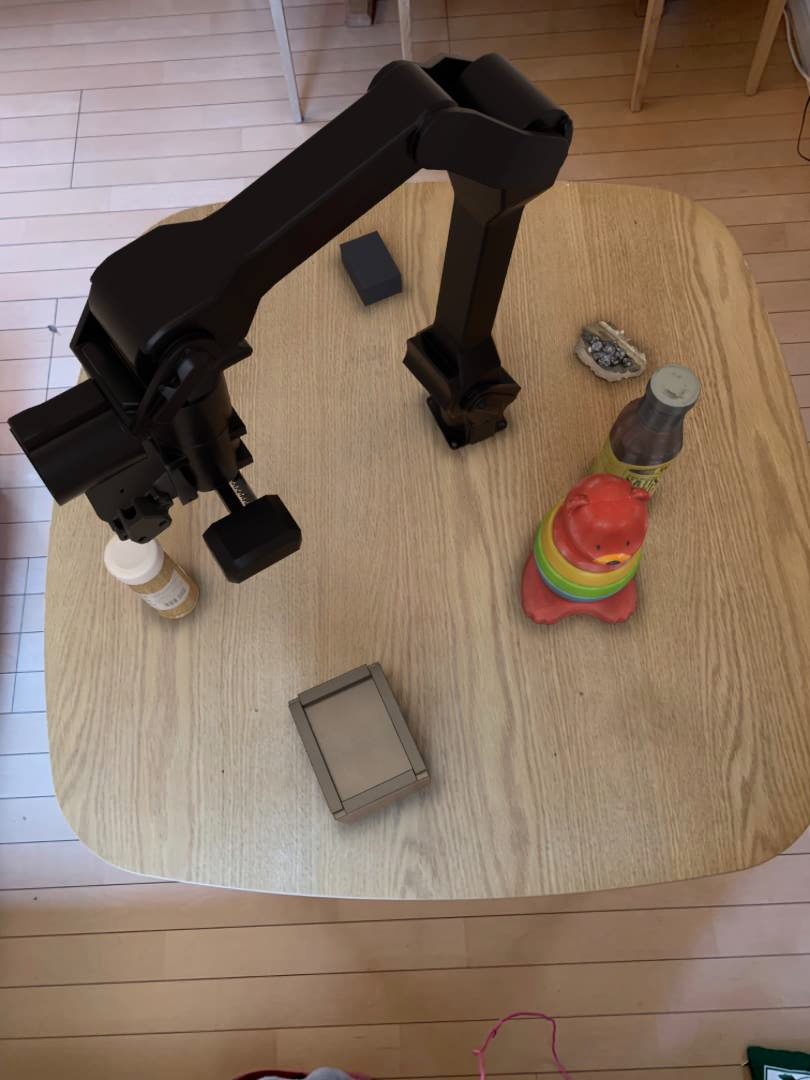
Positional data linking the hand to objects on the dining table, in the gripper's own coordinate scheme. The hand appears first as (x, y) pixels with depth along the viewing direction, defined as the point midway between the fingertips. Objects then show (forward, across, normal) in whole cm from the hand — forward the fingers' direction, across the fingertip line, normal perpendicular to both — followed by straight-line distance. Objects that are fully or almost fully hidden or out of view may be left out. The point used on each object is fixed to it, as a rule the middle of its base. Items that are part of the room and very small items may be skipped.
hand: (221, 511), depth 71 cm
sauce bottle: (+10, +14, +35) cm, 39 cm away
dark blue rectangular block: (+10, -22, +29) cm, 37 cm away
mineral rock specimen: (+8, +1, +44) cm, 45 cm away
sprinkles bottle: (+14, -1, -7) cm, 15 cm away
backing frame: (+13, +22, +1) cm, 25 cm away
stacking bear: (+10, +18, +27) cm, 34 cm away
